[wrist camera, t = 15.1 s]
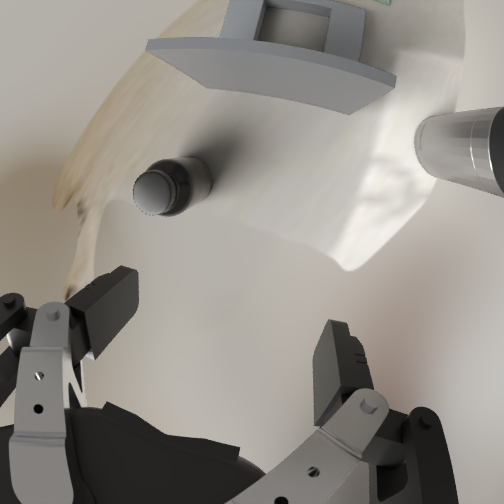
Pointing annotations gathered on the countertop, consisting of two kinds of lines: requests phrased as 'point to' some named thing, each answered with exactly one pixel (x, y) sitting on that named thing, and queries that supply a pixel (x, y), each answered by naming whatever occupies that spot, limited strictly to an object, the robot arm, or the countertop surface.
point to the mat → (384, 1)
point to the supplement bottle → (172, 186)
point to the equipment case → (282, 58)
